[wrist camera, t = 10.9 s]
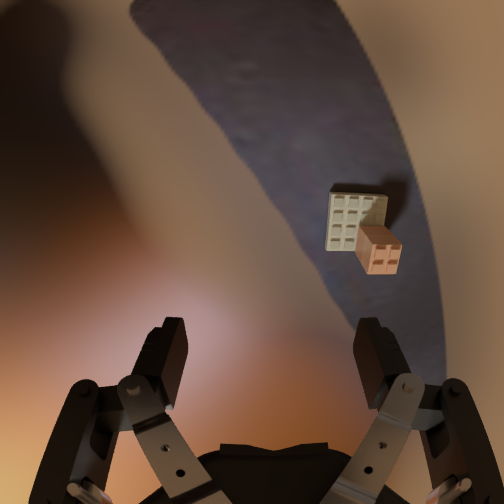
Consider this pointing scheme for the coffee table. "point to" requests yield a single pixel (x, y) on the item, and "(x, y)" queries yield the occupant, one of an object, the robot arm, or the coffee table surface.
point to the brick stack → (377, 249)
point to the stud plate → (352, 217)
